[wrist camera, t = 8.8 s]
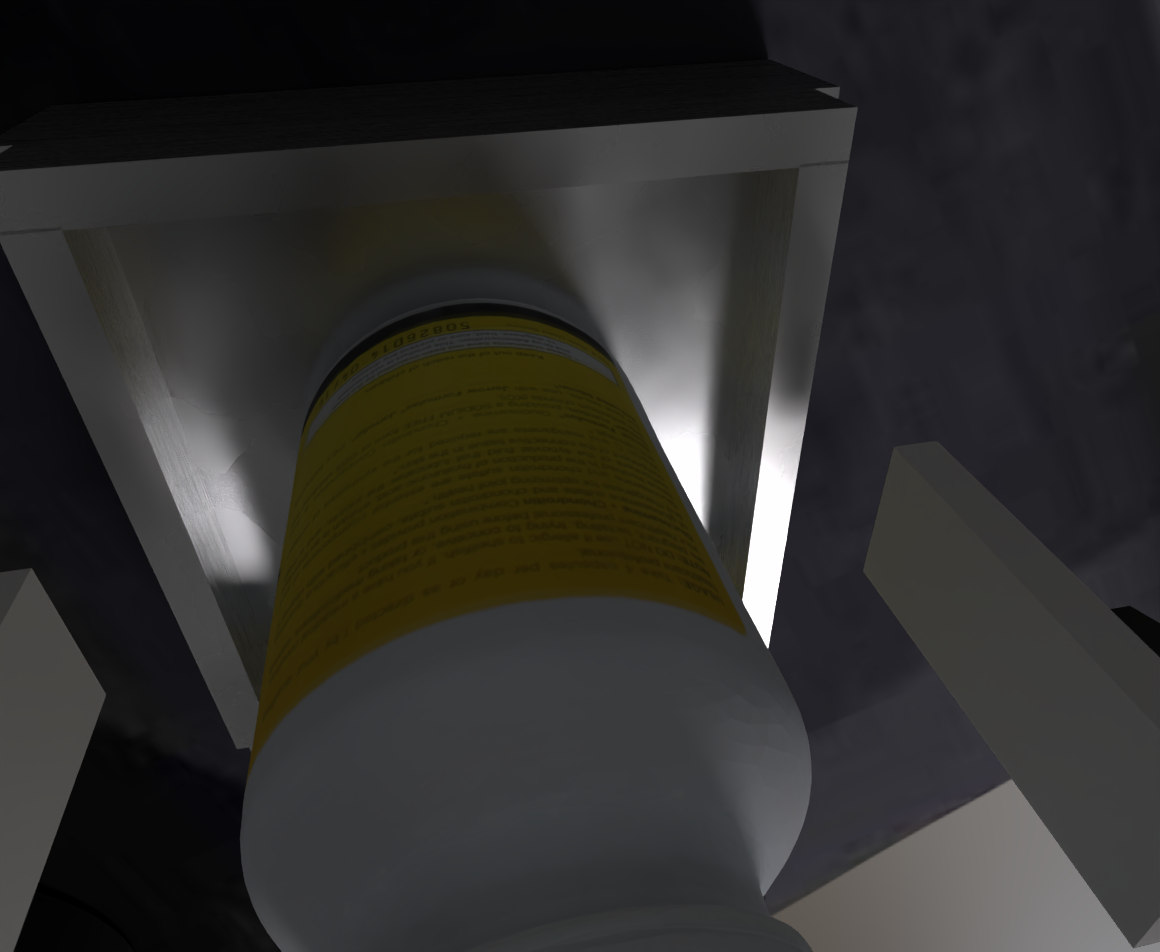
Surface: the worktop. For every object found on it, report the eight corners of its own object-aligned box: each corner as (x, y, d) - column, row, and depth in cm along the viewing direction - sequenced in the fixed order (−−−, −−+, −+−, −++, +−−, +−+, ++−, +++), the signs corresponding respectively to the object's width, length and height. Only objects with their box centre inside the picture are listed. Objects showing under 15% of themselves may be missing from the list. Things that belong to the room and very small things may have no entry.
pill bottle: (243, 335, 13) (-82, 1287, 4) (610, 243, 14) (1068, 936, 4) (371, 598, 17) (351, 1388, 8) (655, 521, 18) (947, 1197, 8)
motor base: (51, 105, 14) (-487, 417, 5) (769, 59, 15) (1216, 235, 7) (307, 764, 25) (265, 1196, 16) (705, 692, 26) (848, 1048, 18)
